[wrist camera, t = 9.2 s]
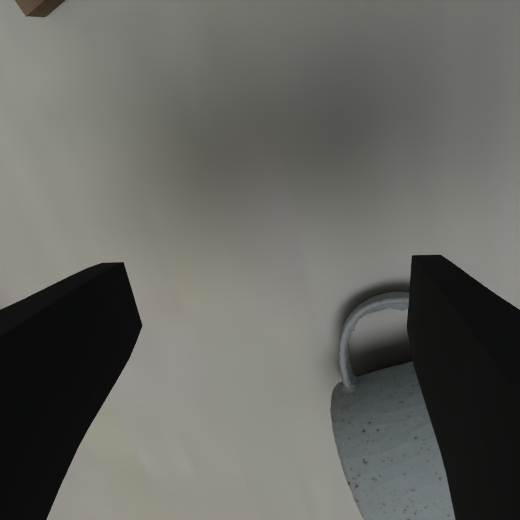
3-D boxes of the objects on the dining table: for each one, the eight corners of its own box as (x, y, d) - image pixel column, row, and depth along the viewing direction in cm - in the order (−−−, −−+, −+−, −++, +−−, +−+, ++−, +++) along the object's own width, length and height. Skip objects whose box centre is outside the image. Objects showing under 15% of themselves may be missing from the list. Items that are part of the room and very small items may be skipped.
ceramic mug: (526, 406, 23) (605, 559, 16) (385, 443, 26) (402, 585, 19) (450, 253, 19) (511, 366, 13) (298, 317, 22) (282, 436, 16)
